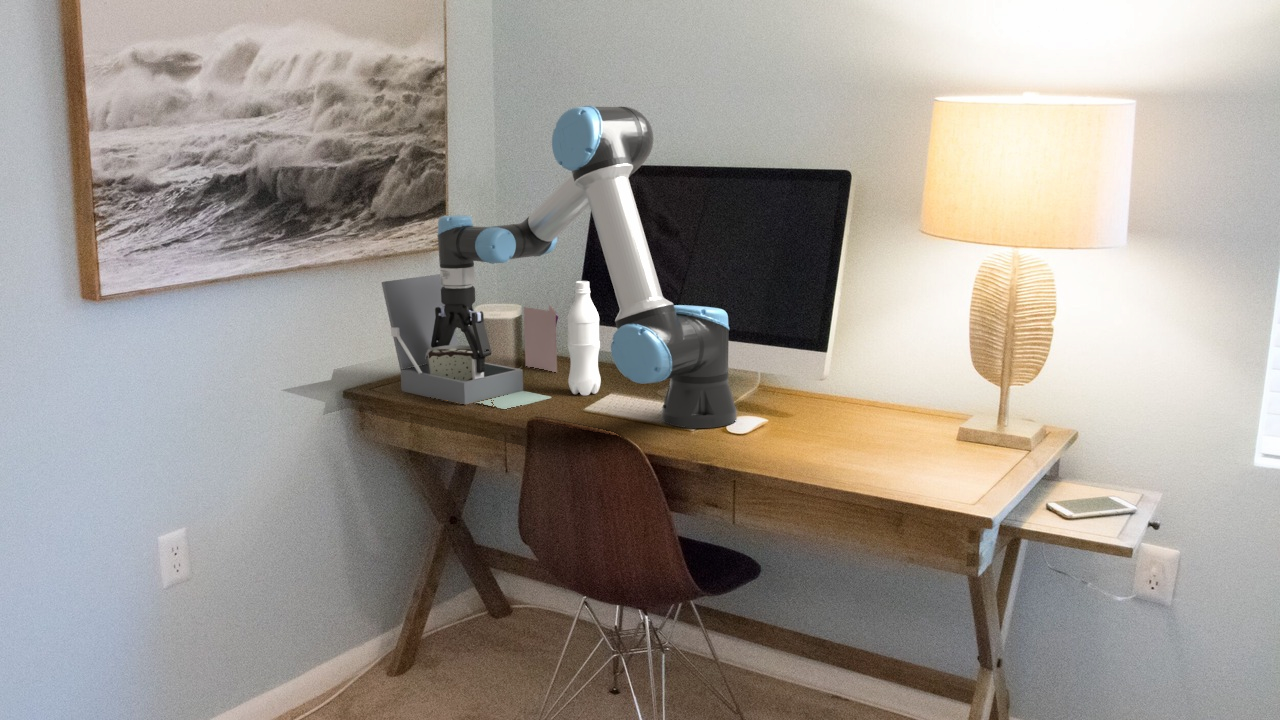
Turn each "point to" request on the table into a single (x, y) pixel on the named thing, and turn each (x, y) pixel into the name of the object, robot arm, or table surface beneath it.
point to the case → (413, 338)
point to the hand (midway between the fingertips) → (462, 383)
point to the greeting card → (540, 338)
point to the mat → (515, 399)
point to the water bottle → (583, 342)
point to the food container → (451, 362)
